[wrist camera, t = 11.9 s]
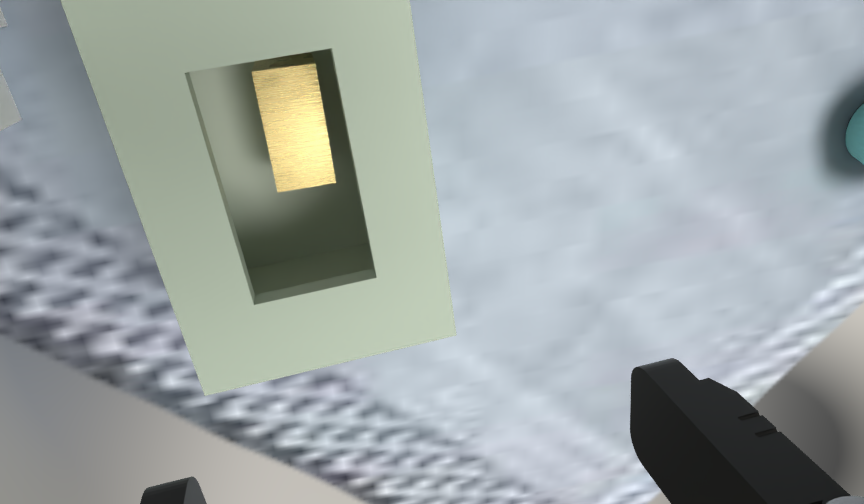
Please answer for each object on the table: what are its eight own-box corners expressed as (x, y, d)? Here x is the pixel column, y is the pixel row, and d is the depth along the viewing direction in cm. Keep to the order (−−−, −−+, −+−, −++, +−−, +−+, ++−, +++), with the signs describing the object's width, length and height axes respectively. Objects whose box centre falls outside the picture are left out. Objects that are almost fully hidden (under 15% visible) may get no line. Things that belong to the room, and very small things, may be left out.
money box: (128, -28, 31) (48, -33, 21) (360, -61, 33) (398, -81, 22) (226, 281, 39) (204, 395, 28) (410, 242, 41) (456, 335, 30)
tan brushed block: (251, 71, 29) (277, 192, 31) (315, 63, 29) (336, 182, 32) (255, 59, 33) (278, 166, 36) (311, 52, 34) (329, 158, 36)
